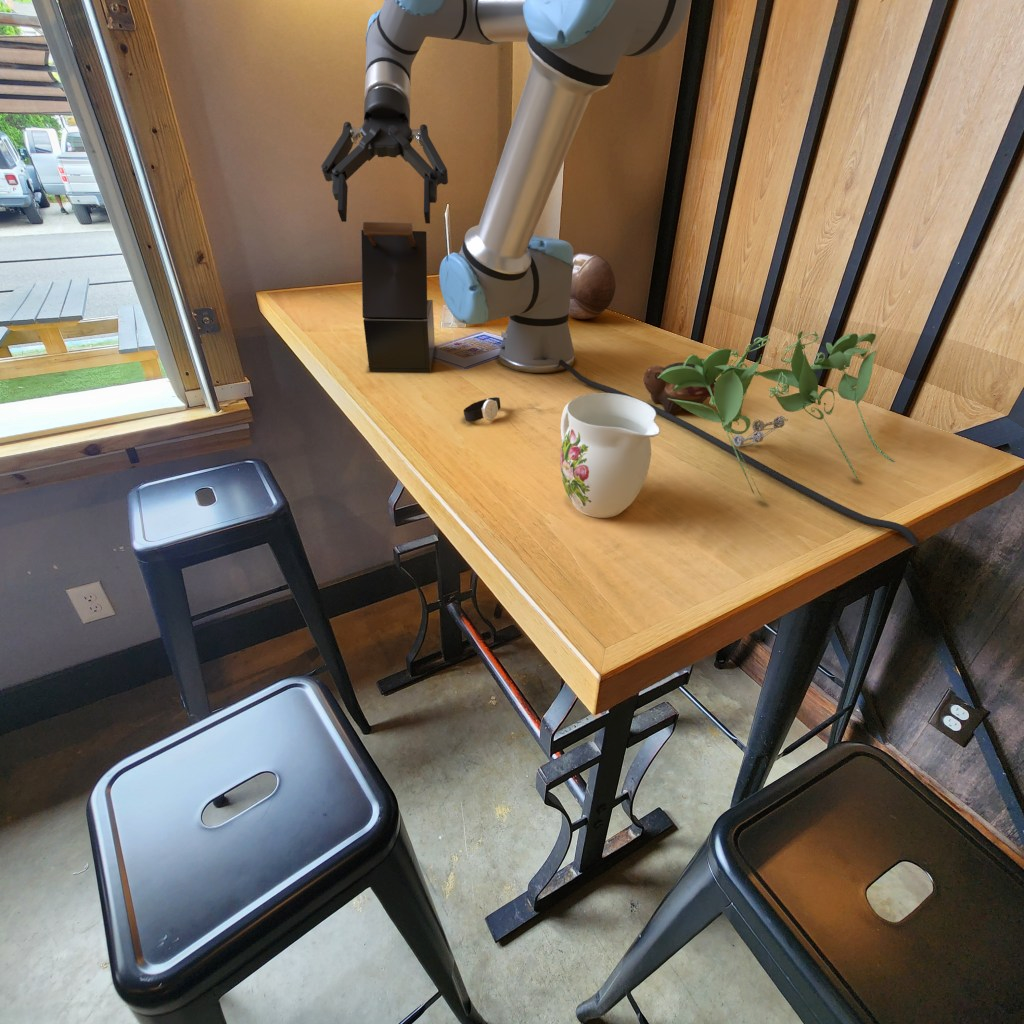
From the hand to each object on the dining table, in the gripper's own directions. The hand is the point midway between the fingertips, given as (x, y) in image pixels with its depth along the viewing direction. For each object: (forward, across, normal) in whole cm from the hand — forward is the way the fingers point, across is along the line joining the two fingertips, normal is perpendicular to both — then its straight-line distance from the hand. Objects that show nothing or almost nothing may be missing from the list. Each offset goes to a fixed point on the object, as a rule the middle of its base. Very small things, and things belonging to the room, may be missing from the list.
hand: (384, 217), depth 92 cm
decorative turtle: (+28, -50, -10) cm, 58 cm away
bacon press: (+3, 0, -12) cm, 12 cm away
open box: (+12, 0, -26) cm, 29 cm away
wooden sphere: (-9, -41, -48) cm, 63 cm away
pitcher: (+49, -30, +10) cm, 58 cm away
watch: (+31, -16, -7) cm, 36 cm away
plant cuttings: (+42, -58, +4) cm, 72 cm away
